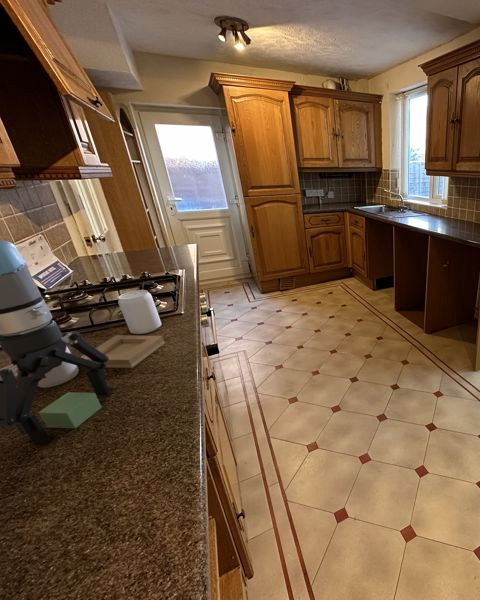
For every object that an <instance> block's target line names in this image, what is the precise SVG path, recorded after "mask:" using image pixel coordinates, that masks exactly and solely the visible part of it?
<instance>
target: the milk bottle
mask: <svg viewBox="0 0 480 600" xmlns="http://www.w3.org/2000/svg"><path fill="white" fill-rule="evenodd" d="M66 352H67V353H71V351H70V348H68V346H67V347H66ZM79 371H80V369H79V366H77V365H73V364H70V363H66V362H62V365H60V366H58V367H55V368H53V369H52V370H51V371H50V372H48V373H46V374H43V377H42V380H41V381H39V382H38V386H37V388H43V389H46V388H52V387H55V386H60V385H62V384H64V383H67V382H68V381H71V380H73V379H74V378H75V377H76V376H77V375H78V374H79ZM32 376H33V374H30V373H29V377H32Z"/></svg>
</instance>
